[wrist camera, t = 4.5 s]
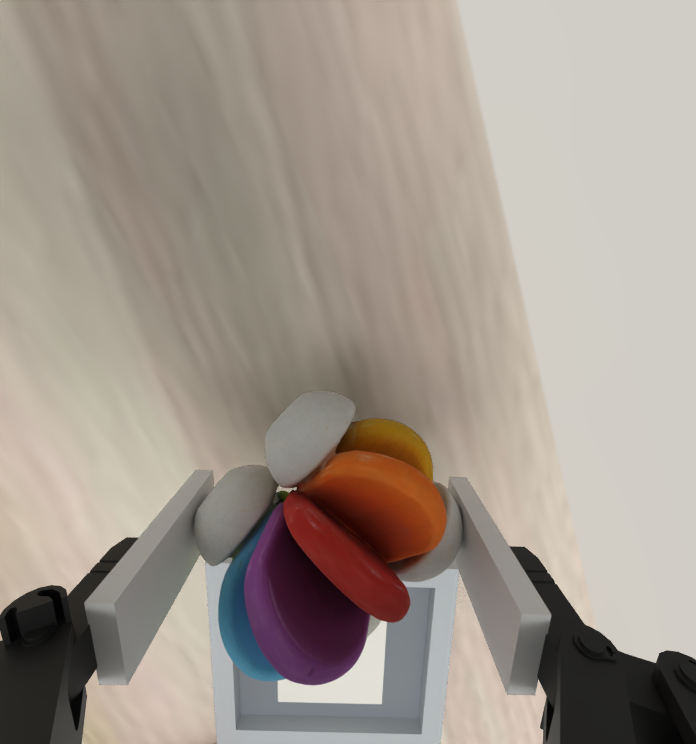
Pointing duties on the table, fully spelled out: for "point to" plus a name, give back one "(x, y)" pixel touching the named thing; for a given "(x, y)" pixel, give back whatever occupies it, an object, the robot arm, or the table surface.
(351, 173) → the table surface
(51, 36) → the table surface
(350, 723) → the square gray tray
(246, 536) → the rainbow disc rolling toy
